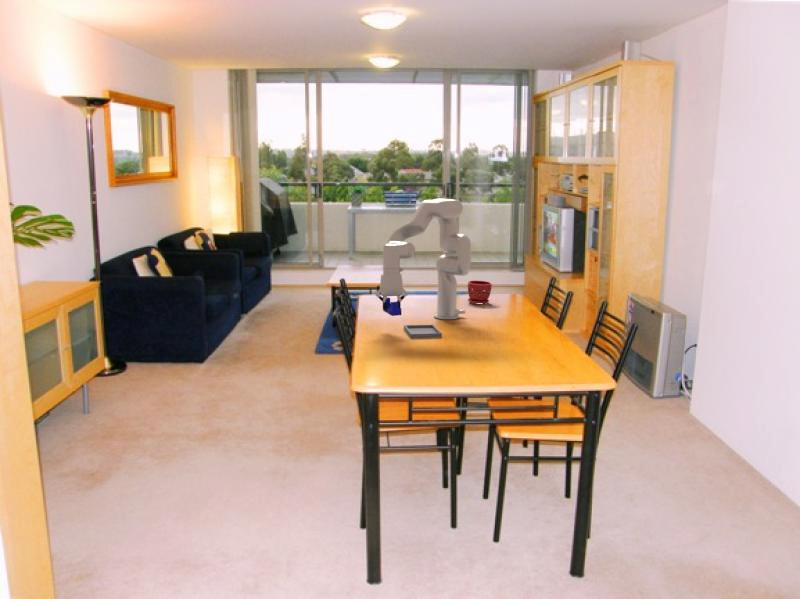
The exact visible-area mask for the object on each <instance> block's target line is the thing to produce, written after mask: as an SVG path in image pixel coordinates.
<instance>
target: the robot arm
mask: <svg viewBox="0 0 800 599" xmlns="http://www.w3.org/2000/svg"><path fill="white" fill-rule="evenodd" d="M463 210H464V207H463V203H462V202H461V201H460V200H458V199H448V198H434V199H426V200H425V199H424V200H423V201H422V202H420V204H419V205H418V207H417V208H416V210H415V212H414V213H413V215H412V216H411V218H410V220H409V221H408V222H407V223H404V224H402V226H400V227H398V228H396V230H394V231H393V233H392V234H391V235H390V236H389V237H388V239H387V242H386V243H385V244H384V245H383V246H382V266H383V267H382V273H381V275H380V282H379V284H380V285H379V289H378V290H377V291H376V293H375V297H376V298H378V299H379V300H380V301H381V302H382V310H383V309H384V311H383V312H385V311H387V308H386V298H387V297H396V299H397V300H396V302H398V307H399V308H401V309H402V307H401V305H402V304H401V302H402V301H403V300H404V299H405V298H406V297H407V296H408V295H409V294H408V292H407V291H406V290H405V289H404V283H403V276H402V273H401V272H404V268H403V267H401V263H400V262H401V260H403V259H404V260H405V259H407V260H409V259H411V258H413V257H414V255H415V253H416V247H415V246H414V244H413V243H411V242H408V241H405V240H407V239H410V238H413V237H417V236H420V235H422V234H424V233H425V231H426V230H427V228H428V226H429V225H430V223H431V221H432V220H433V219H437V221H438V223H439V224H438V225H439V248H440V251H442V252H444V253H450V254H442V255H439V256H438V258H437V259H436V261H435V263H436V264H435V266H436V272H437V297H436V298H437V303H436V305H437V306H436V313H434V314H433V318H436V319H439V320H456V319H459V318H460V314H461V315H462V314H463V315H465V314H466V309H458V308H457V292H458V290H457V288H458V284H457V283H458V282H457V279H456V277H455V276H461V277H464V276H467V275H468V274H469V272H470V271H471V264H472V263H471V262H472V261H471V260H472V259H471V258H472V256H471V255H472V243H471V239H470V238H469V236H468V235H466V234H463V233H458V227H457V226H458V224H457V220H456V218H459V217H460V216H461V215H462V213H463ZM451 253H452V254H451ZM453 254H456V255H453Z"/></svg>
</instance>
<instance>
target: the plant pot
mask: <svg viewBox="0 0 800 599" xmlns="http://www.w3.org/2000/svg"><path fill="white" fill-rule="evenodd" d="M492 285H493V284H492V282H489V281H486V280H469V281H468V282H467V293H468V297H469V298H467V301H468V302H469V303H470V302H471V303H470V304H472V303H487V304H488V303H489V302H490V300H489V297H490V295H491V293H492Z"/></svg>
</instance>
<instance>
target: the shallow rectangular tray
mask: <svg viewBox="0 0 800 599" xmlns="http://www.w3.org/2000/svg"><path fill="white" fill-rule="evenodd" d="M403 330H404V332H405V333H406V335H407V336H408V337H409V339H441V338H442V337H443V333H442V332H441V331H440V330H439V329H438V328H437V327H436V325H434V324H404V325H403Z"/></svg>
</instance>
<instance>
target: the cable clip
mask: <svg viewBox="0 0 800 599" xmlns="http://www.w3.org/2000/svg"><path fill="white" fill-rule="evenodd" d="M386 308H387V311H384V309H383V308H382V311H383V312H385V313H386V314H388V315H390V316H391V317H393V316H402V307H401V308H399V307H398V302H397V301H391V297H390V296H387V298H386Z"/></svg>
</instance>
